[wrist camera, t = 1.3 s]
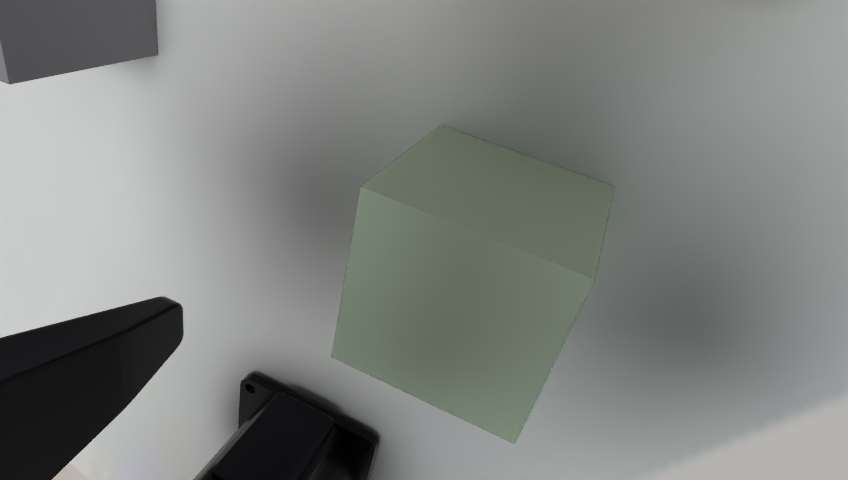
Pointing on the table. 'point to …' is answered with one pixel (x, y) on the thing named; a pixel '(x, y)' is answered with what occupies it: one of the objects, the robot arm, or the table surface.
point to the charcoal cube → (72, 35)
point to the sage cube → (469, 275)
